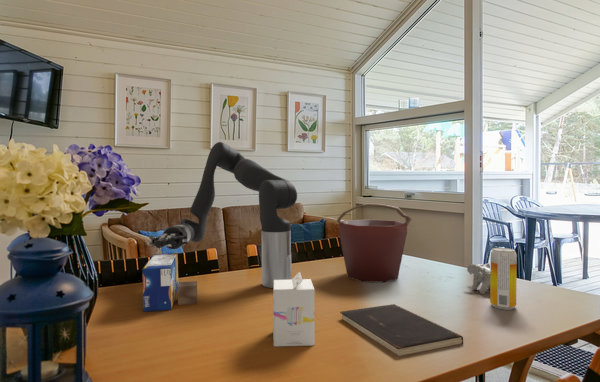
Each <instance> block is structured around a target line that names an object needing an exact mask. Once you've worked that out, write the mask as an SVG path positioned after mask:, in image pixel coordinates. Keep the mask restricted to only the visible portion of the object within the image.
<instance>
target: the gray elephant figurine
mask: <svg viewBox="0 0 600 382" xmlns="http://www.w3.org/2000/svg"><path fill="white" fill-rule="evenodd" d="M467 273H469V275H470V276H471V275H472V274H473V281H472V285H471V289H472V290H473V291H477V290H478V288H479V287H480V288H479V293H480V294H481V295H485V294H486V290H487V289H488V290H490V275H491V264H490V263H485V264H484V263H478V264H474V263H471V264H469V265H468V266H467ZM480 285H481V286H480Z"/></svg>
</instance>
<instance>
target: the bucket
mask: <svg viewBox="0 0 600 382" xmlns="http://www.w3.org/2000/svg"><path fill="white" fill-rule="evenodd" d="M370 206H373V207H382V208H388V209H391V210H394V211H396V212H397V214H399V215H400V216H401V217H402V218H404V221H403V222H402V221H399V220H389V219H388V220H387V219H371V218H369V219H351V220H350V219H348V220H347V219H346V220H344V221H342V219H343V217H345V215H346V214H348V213H349V212H350V213H351V212H352V211H353V210H357V209H358V208H362V207H370ZM336 221H337V223H338V234H339V235H338V236H339V239H340V245H341V251H342V255H343V259H344V264H345V265H344V266H345V270H346V275H347V278H349V277H350V278H349V279H352V278H353V279H352V280H354V281H355V280H356V281H358V282H362V283H363V282H365V283H387V282H390V281H395V280H397V279H398V278H399V274H400V270H401V265H402V264H401V263H402V260H403V254H404V249H405V244H406V239H407V235H408V225H409V224H410V223H411V221H412V218H411V217H410V216H409V215H407V214H405V213H404V212H403V210H401V209H400V207H397V206H393V205H388V204H384V203H382V204H381V203H363V204H360V205H357V206H354V207H352V208H350V209H347V210H346V211H343V212H342V214H341V215H339V216H338V218H337V219H336Z"/></svg>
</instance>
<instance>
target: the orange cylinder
mask: <svg viewBox="0 0 600 382" xmlns="http://www.w3.org/2000/svg"><path fill="white" fill-rule="evenodd" d="M517 257H518V255H517V252H516V250H515V249H513V248H508V247H494V248H493V247H492V249H491V251H490V269H491V275H490V289H489V290H490V293H489V294H490V296H489V297H490V298H489V299H490V300H489V301H490V302H489V303H490V304H491V305H492V307H493V308H495V309H499V310H505V311H506V310H509V311H511V310H514V309H515V307H516V306H517V278H518V277H517V274H518V273H517V267H518V266H517V264H518V262H517V259H518V258H517Z"/></svg>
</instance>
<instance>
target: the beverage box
mask: <svg viewBox="0 0 600 382" xmlns="http://www.w3.org/2000/svg"><path fill="white" fill-rule="evenodd" d="M178 257H179V256H178V252H170V253H169V252H168V253H154V254H153V255H152V256H151V258H150V259H149V260H148V261H147V262H146V264H145V265H144V266H143V268H141V270H142V272H141V273H142V310H143V311H142V312H157V311H160V312H161V311H169V310H172V309H173V306H174V302H175V299H176V296H177V294H178V283H179V259H178Z"/></svg>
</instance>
